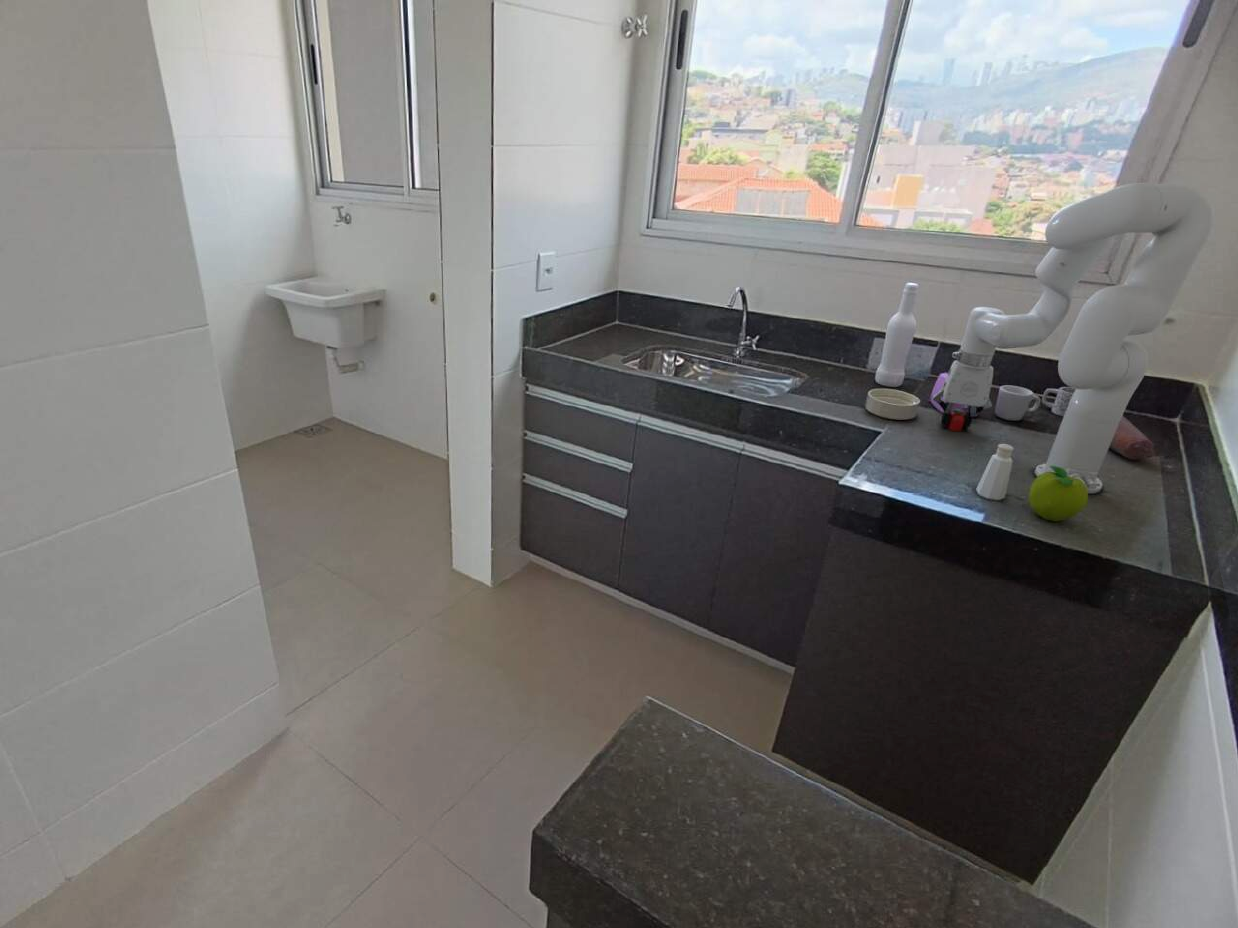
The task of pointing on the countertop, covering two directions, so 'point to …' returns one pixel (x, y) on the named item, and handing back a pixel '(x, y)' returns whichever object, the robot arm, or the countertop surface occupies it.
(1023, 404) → the cup
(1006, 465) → the pepper shaker
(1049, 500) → the fruit
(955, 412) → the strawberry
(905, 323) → the bottle
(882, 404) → the bowl
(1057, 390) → the mug
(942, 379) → the teapot
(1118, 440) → the food
